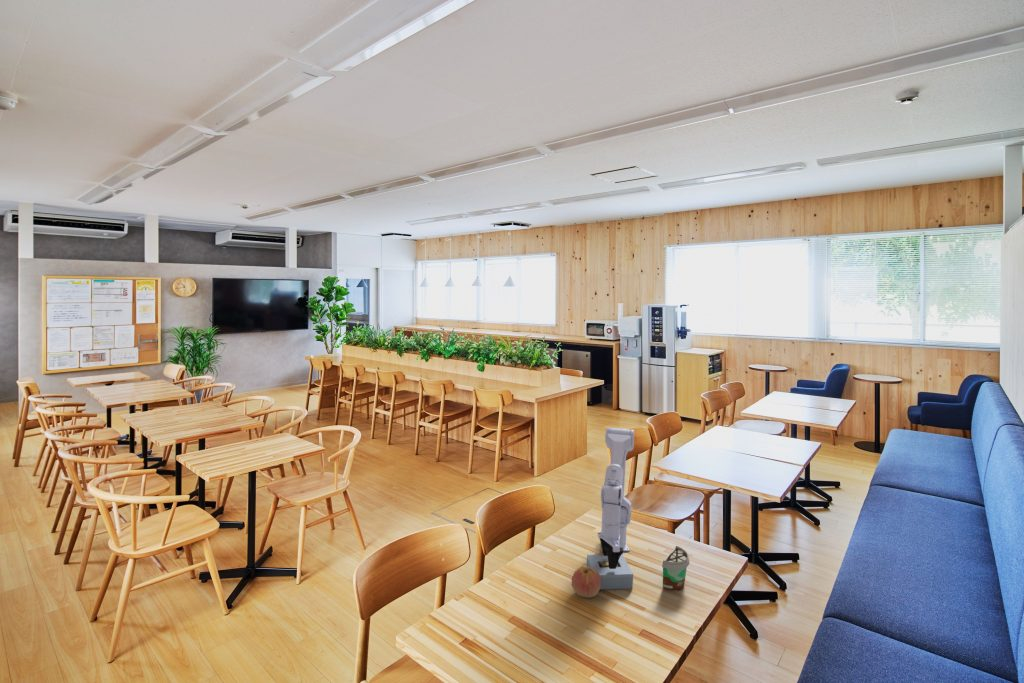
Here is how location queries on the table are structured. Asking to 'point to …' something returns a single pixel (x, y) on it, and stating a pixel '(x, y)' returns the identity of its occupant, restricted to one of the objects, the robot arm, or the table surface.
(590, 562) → the coin box
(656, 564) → the table surface
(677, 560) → the food container
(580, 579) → the apple
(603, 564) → the block
